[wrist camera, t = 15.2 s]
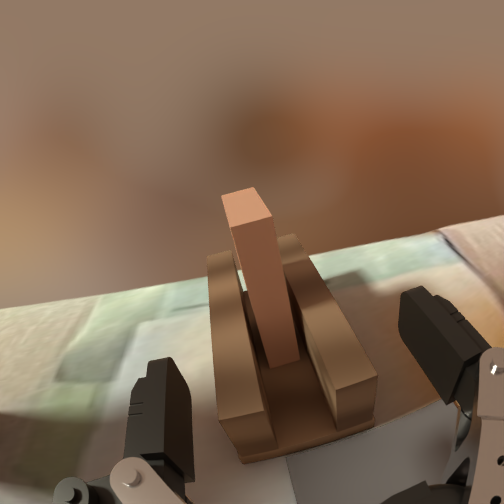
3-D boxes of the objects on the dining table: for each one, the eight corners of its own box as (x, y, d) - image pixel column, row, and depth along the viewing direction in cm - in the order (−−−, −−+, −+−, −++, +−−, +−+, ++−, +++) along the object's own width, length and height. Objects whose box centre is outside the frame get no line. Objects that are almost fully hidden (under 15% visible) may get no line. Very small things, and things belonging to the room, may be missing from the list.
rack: (373, 426, 18) (381, 373, 15) (243, 464, 18) (214, 420, 15) (304, 284, 34) (296, 232, 31) (221, 306, 34) (204, 256, 31)
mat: (508, 502, 9) (511, 501, 9) (321, 591, 9) (320, 592, 9) (447, 398, 18) (448, 395, 18) (286, 459, 18) (285, 457, 18)
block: (300, 359, 24) (272, 216, 18) (270, 368, 24) (230, 227, 18) (281, 313, 29) (253, 187, 23) (255, 320, 29) (221, 195, 23)
